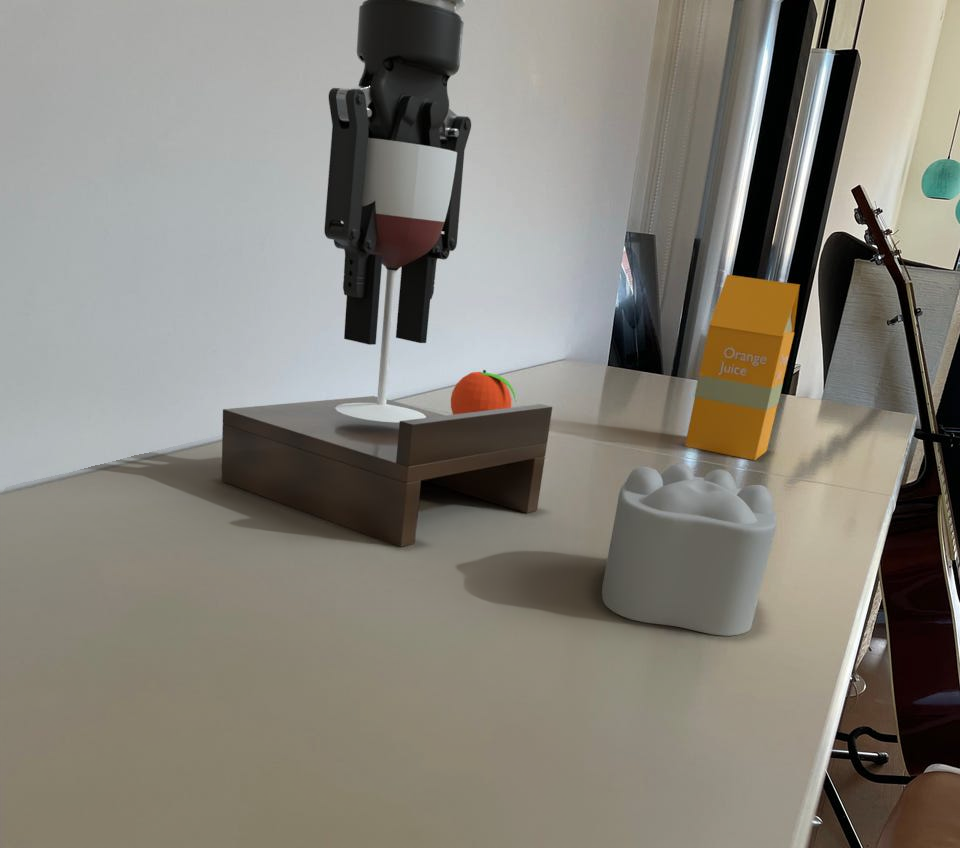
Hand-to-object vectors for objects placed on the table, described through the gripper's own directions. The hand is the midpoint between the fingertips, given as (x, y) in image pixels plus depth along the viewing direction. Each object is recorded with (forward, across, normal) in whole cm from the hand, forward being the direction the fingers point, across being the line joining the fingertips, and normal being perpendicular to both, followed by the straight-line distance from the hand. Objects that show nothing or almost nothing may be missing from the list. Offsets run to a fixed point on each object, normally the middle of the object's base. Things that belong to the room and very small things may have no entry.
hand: (386, 340), depth 80 cm
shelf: (+13, 0, -1) cm, 13 cm away
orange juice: (+13, +56, -8) cm, 58 cm away
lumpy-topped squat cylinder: (+13, 0, -29) cm, 32 cm away
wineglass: (+6, 0, 0) cm, 6 cm away
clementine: (+13, +30, +11) cm, 34 cm away
